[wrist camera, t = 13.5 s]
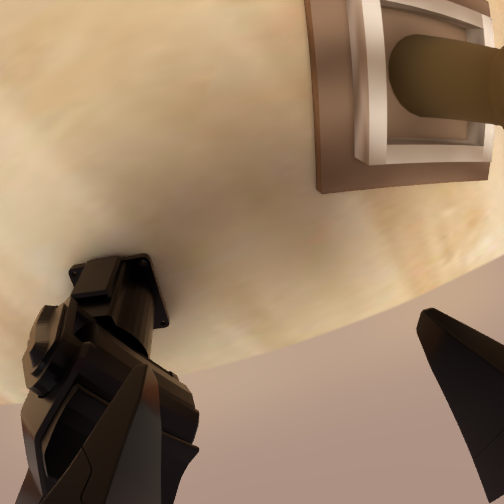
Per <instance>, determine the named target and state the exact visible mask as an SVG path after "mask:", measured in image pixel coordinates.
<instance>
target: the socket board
mask: <svg viewBox="0 0 504 504" xmlns="http://www.w3.org/2000/svg"><path fill="white" fill-rule="evenodd" d="M304 1H305V9H306V18H307V28H308V38H309V49H310V61H311V74H312V88H313V104H314V123H315V146H316V182H317V190H318V191H319V192H320V193H321V194H326V193H335V192H344V191H354V190H364V189H374V188H384V187H395V186H407V185H419V184H433V183H447V182H463V181H481V180H488V174H489V167H490V162H491V160H492V152H493V141H494V129H495V125H493V124H486V123H479V122H471V121H462V120H452V119H441V118H428V117H419V116H417V115H414V114H412V113H410V112H409V111H407V110H406V109H405V108H404V107H403V106H402V105H401V104H400V103H399V101H398V99H397V98H396V96H395V95H394V93H393V90H392V87H391V84H390V81H389V71H388V64H389V59H390V55H391V52H392V50H393V48H394V47H395V45H396V43H397V42H399V41H400V40H401V39H403V38H404V37H405V36H409V35H414V34H420V35H428V36H435V37H442V38H449V39H454V40H460V41H465V42H470V43H475V44H480V45H484V46H489V47H493V48H495V46H494V34H493V24H492V18H491V17H490V10H489V3H488V1H486V0H304Z"/></svg>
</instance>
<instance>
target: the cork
mask: <svg viewBox="0 0 504 504" xmlns="http://www.w3.org/2000/svg"><path fill="white" fill-rule="evenodd" d="M388 71H389V81H390V84H391V87H392V90H393V93H394V95H395V96H396V98H397V99H398V101H399V103H400V104H401V105H402V106H403V107H404V108H405V109H406V110H407V111H409V112H410V113H412V114H414V115H417V116H419V117H428V118H441V119H452V120H462V121H471V122H479V123H486V124H493V125H500V126H502V127H503V129H504V46H503V47H502V48H501V49H497V48H493V47H489V46H484V45H480V44H475V43H470V42H465V41H460V40H454V39H449V38H442V37H435V36H428V35H420V34H414V35H409V36H405V37H404V38H403V39H401V40H400V41H399V42H397V43H396V45H395V47H394V48H393V50H392V52H391V55H390V59H389V64H388Z"/></svg>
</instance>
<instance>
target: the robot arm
mask: <svg viewBox="0 0 504 504" xmlns="http://www.w3.org/2000/svg"><path fill="white" fill-rule="evenodd" d="M141 260H145V261H146V262H147V263H142V262H141ZM73 271H75V272H77V274H75V273H74V272H73ZM69 276H70V279H71V281H72V283H73V286H74V289H73V291H72V293H71V296H70V297H69V298H68V299H67V300H66V301H65V302H64V303H62V304H61V305H60V306H59V307H58V306H48V305H45V306H44V307H43V308H42V309H41V311H40V312H39V314H38V316H37V318H36V320H35V322H34V325H33V327H32V329H31V332H30V339H29V341H28V348H27V350H26V352H25V354H24V356H23V358H22V361H23V369H24V375H25V382H26V386H27V388H28V389H29V390H30V391H29V394H28V396H27V398H26V400H25V402H24V405H23V407H22V410H21V421H22V429H23V437H24V444H25V449H26V455H27V461H28V465H29V468H28V471H27V474H26V477H25V479H24V482H23V485H22V487H21V489H20V492H19V494H18V497H17V500H16V503H15V504H173V503H174V500H175V496H176V493H177V489H178V486H179V483H180V480H181V477H182V475H183V473H184V471H185V469H186V468H187V466H188V464H189V463H190V462H191V460H192V459H193V458H194V457H195V456H196V454H197V453H198V452H199V448H198V447H197V446H194V445H192V443H193V441H194V438H195V435H196V431H197V428H198V423H199V411H198V410H197V409H195V405H194V401H193V396H192V393H191V392H190V391H189V389H188V388H187V386H186V385H184V384H183V383H181V382H179V380H178V377H177V375H175V374H174V373H172V372H171V371H169V372H168V371H167V370H165V369H164V368H162V367H161V366H159V365H158V364H156V363H155V362H153V361H152V360H150V350H151V341H152V333H153V329H157V328H165V327H167V326H169V321H170V320H169V316H168V313H167V310H166V307H165V304H164V301H163V297H162V294H161V291H160V288H159V285H158V281H157V278H156V275H155V271H154V268H153V264H152V261H151V258H150V257H149V256H148V255H146V254H140V255H134V256H128V257H122V258H120V257H118V256H116V257H110V258H104V259H98V260H92V261H88V262H87V263H86V264H81V265H75V266H72V267H71V268H70V270H69ZM162 321H165V322H162ZM416 329H417V334H418V337H419V340H420V342H421V344H422V347H423V349H424V352H425V354H426V357H427V360H428V362H429V365H430V367H431V369H432V371H433V373H434V375H435V377H436V379H437V381H438V383H439V385H440V387H441V389H442V391H443V394H444V396H445V397H446V400H447V402H448V404H449V406H450V408H451V410H452V412H453V414H454V417H455V419H456V421H457V423H458V426H459V428H460V430H461V433H462V435H463V437H464V439H465V442H466V444H467V446H468V448H469V451H470V453H471V456H472V459H473V461H474V464H475V467H476V469H477V472H478V474H479V477H480V480H481V482H482V485H483V487H484V490H485V493H486V496H487V498H488V501H489V503H491V502H493V501H494V500H496V499H498V498H499V497H500V496H502V495H504V345H503V344H500V343H499V342H497V341H495V340H493V339H491V338H490V337H488V336H486V335H484V334H482V333H480V332H478V331H476V330H475V329H473V328H471V327H469V326H467V325H465V324H463V323H462V322H459V321H458V320H456V319H454V318H452V317H450V316H448V315H446V314H444V313H442V312H441V311H438V310H437V309H435V308H428V309H425V310H423V311H422V312H421V314H420V317H419V321H418V324H417V328H416Z"/></svg>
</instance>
